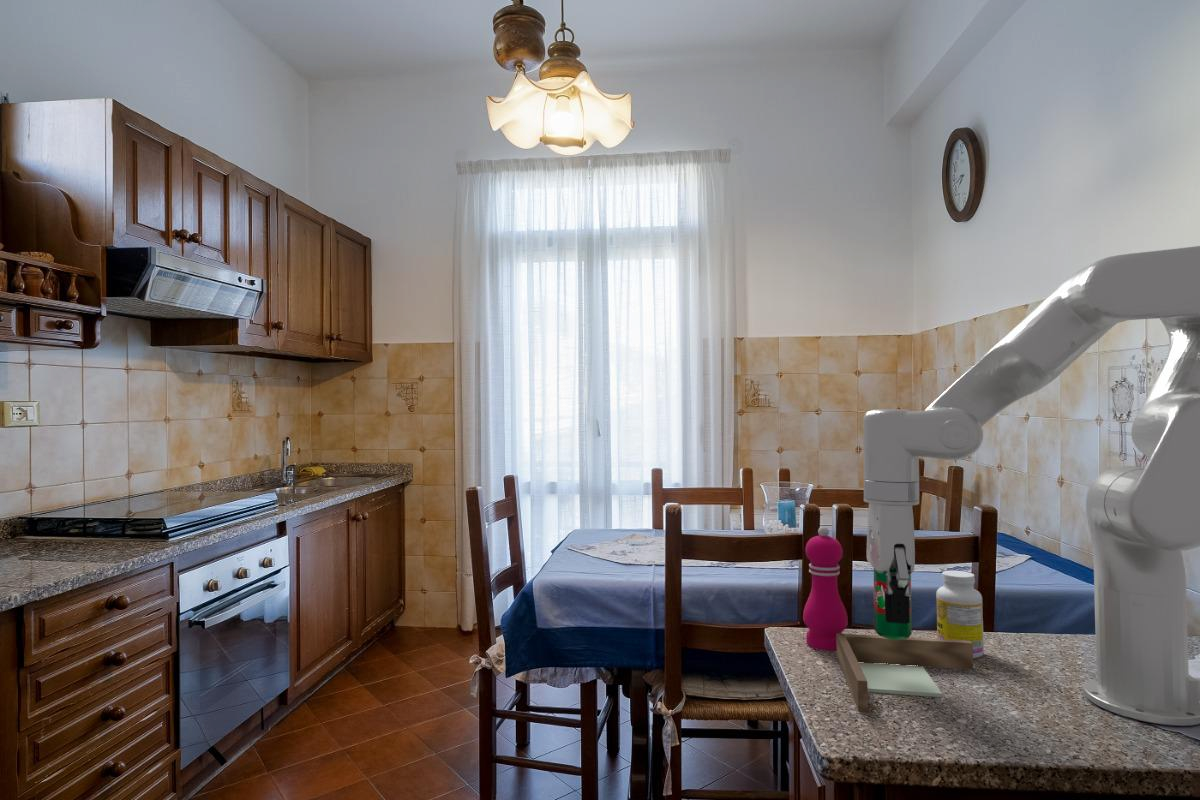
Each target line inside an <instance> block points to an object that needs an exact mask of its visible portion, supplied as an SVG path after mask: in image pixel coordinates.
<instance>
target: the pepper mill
mask: <svg viewBox="0 0 1200 800" xmlns="http://www.w3.org/2000/svg"><path fill="white" fill-rule="evenodd" d="M817 533H818V535H816V536H813V537H811V538H810V539H809V540H808V541H807V542H806V545H805V555H806V557H807V559H808V560H809V562H810V563H809V564H808V566H809V570H808V572H809V573H810V574H811V590H810V593H809V596H808V598H807V601H806V603H805V605H804V608H803V611H802V612H803V614H802V620H803V623H804V624H805V626H806V627H807V628H808V630H807V631H806V633H805V635H806V638H805V639H806V644H807V645H808V646H809V647H811V648H812V649H816V650H820V651H825V652H826V651H827V652H832V651H833V652H834V651H836V650H837V642H836V633H839V634H843V632H844V631H845V630H846V628H847V627H848V623H849V621H848V613H847V611H846V608H845V606H844V603H843V601H842V599H841V595H840V594H839V589H838V576H839V575H840V574H841V572H840V565H839V564H838V563H839V562H840V561H841V560H842V558H843V553H844V552H843V547H842V545H841V543H840V541H839V540H838V539H836V538H834V537H832V536H829V534H830V530H829V528H828V527H826V526H820V527H819V528H818V530H817ZM836 652H837V651H836Z"/></svg>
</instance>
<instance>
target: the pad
mask: <svg viewBox="0 0 1200 800" xmlns="http://www.w3.org/2000/svg"><path fill="white" fill-rule="evenodd" d="M859 665H860V667H861V669H862V671H863V673H864V675H865V677H866V680H867V690H868V693H877V694H891V695H892V694H893V695H904V696H905V695H907V696H916V697H918V696H919V697H920V696H921V697H932V698H933V697H934V698H936V697H937V698H944V697H943V696H944V695H943V692H942V691H941V689H940V688H939V686H938V685H937V684H936V683H935V681H934V680H933V678H932V677H931V676H930V674H929V673H928V672H927V670H926V669H925V667H922V666H906V665H890V664H874V663H859Z"/></svg>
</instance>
